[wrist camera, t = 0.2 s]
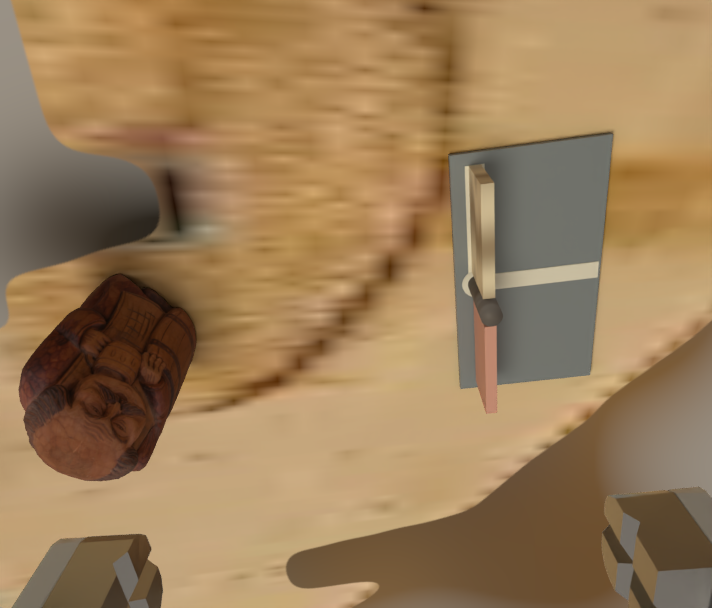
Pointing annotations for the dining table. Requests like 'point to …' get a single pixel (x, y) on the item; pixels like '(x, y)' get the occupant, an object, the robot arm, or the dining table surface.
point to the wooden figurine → (106, 381)
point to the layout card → (535, 254)
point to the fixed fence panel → (483, 246)
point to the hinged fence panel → (486, 362)
